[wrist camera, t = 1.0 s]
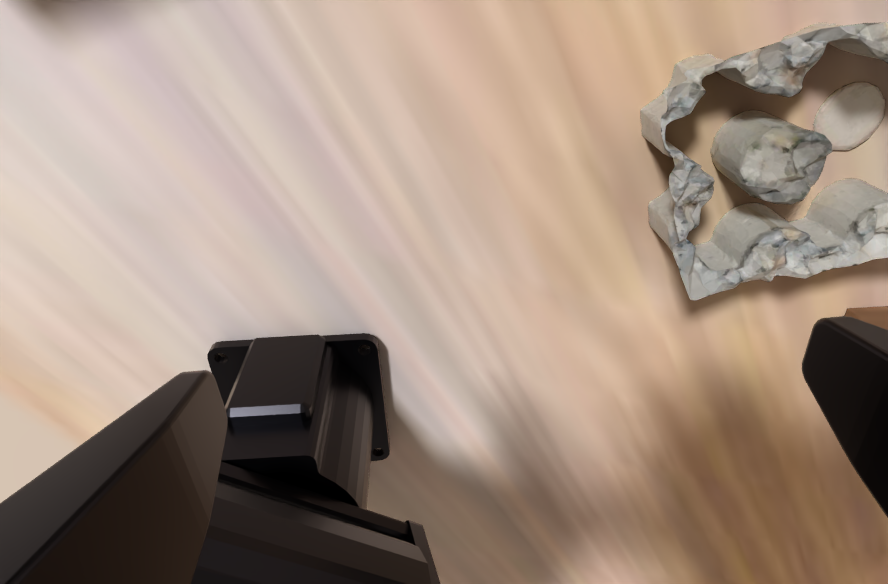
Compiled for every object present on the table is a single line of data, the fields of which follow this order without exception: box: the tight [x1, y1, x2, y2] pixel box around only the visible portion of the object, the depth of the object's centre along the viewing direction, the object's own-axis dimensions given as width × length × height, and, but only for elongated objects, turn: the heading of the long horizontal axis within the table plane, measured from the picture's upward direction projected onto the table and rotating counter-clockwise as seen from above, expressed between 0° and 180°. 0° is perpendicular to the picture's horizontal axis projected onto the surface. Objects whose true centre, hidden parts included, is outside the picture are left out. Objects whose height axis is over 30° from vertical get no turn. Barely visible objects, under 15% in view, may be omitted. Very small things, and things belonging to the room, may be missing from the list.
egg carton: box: [640, 22, 888, 300], centre depth 18 cm, size 11×8×4 cm
